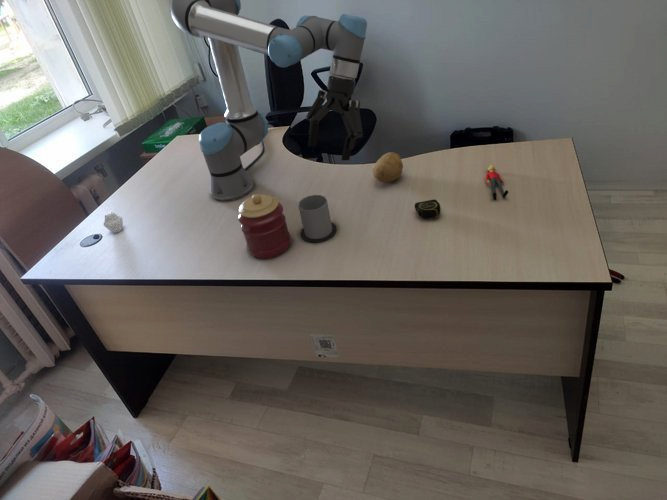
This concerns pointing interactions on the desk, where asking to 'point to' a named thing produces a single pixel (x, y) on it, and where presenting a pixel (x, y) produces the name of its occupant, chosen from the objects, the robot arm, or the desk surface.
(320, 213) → the cup
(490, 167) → the person figure
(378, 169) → the potato
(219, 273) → the desk surface
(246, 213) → the kitchen canister
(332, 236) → the coaster
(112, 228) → the beige knobbly lump
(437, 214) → the tape measure
